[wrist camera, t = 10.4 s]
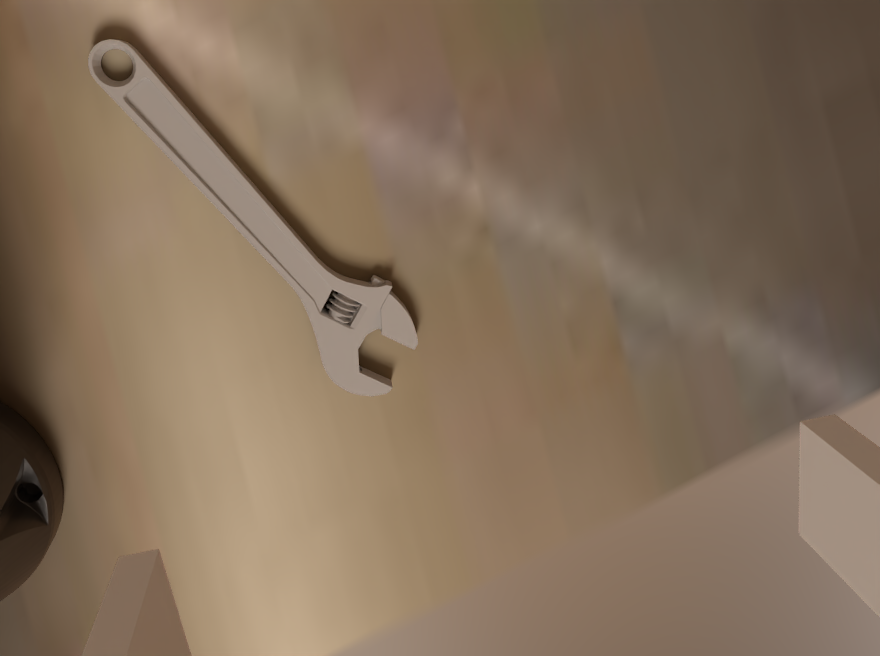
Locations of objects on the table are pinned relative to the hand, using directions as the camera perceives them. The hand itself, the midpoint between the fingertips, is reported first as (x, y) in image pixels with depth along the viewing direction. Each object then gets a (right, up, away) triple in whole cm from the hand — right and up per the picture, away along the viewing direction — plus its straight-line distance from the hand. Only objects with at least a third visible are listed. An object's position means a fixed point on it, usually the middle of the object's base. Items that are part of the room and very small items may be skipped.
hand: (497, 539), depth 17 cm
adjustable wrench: (-11, +11, +32) cm, 36 cm away
